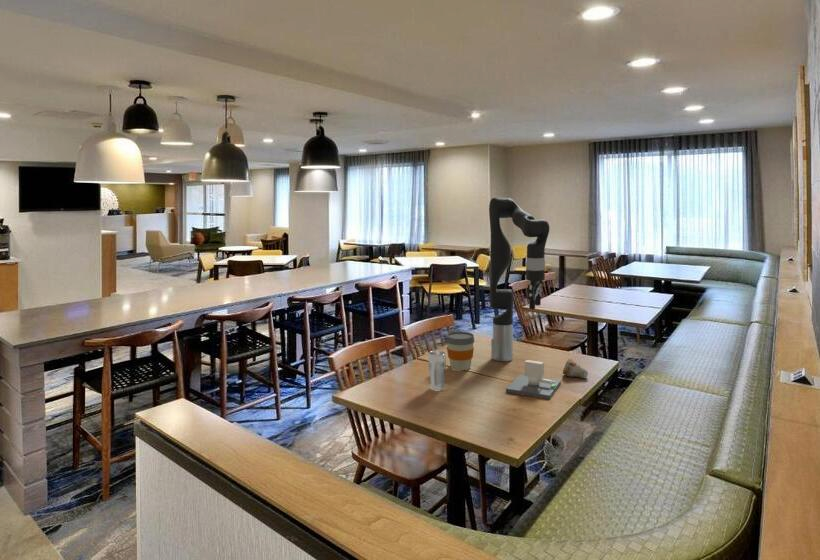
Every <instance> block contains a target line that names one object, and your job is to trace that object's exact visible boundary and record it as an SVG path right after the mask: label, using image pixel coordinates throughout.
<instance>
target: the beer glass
mask: <svg viewBox="0 0 820 560" xmlns="http://www.w3.org/2000/svg"><path fill="white" fill-rule="evenodd" d="M427 363H428V366H427V367H428V372H429V376H430V377H429V378H430V384H429V385H430V386H429V389H430V388H431V389H433V390H443V389H444V388H445V389H446V386H445V373H446V364H447V360H446V352H445V351H443V350H431V351H429V352H428V361H427ZM445 389H444V390H445ZM444 390H443V391H444Z"/></svg>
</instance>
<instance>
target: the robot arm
mask: <svg viewBox="0 0 820 560" xmlns="http://www.w3.org/2000/svg"><path fill="white" fill-rule="evenodd" d="M488 212H489V224H490V225H489V226H490V230H489V231H490V252H489V253H490V258H489V259H490V285H489V286H490V287H489V306H490V308H491V309H493V310H505V311H504V312H502V313H500V314H498V315H497V314H496V315H494V316H493V318H492V339H491V340H490V341H491V342H490V343H491V347H490V348H491V356H490V357H491V360H494V361H497V362H509V361H512V360H513V358H514V357H513V356H514V353H513V351H514V347H513V346H514V340H513V339H514V318H513V317H514V313H513V312H514V292H513V290H512V289H510V288H509V289H508V288H502V289H501V288H499V289H498V283H499V281H500V279H501V278H502V276H503V274H504V272H505V271H506V270H507V268H508V267H509V265H510V263H511V258H512V257H511V255H512V254H511V251H512V250H511V245H510V242H509V241H508V239H507V237H506V236H505V234H504V232H503V230H502V228H501V222H500V221H501V220H500V219H510V218H511V221H512V223H513V224H514V225H515V226H516V227H517V228H519V229H520V230H521V232H522V234H523V235H524V236H525V237H527V238H536V239H535V241H533V242H530V243H528V244H527V246H526V262H525V263H526V264H525V268H526V269H525V279H526V281H529V282H530V284H527V297H526V298H527V300H528V301H529V304H528V307H529V308H528V309H529V310H535V309H536V306H541V303H542V302H541V301H542V299H541V298H542V296H543V294H544V291H543V290H544V289H543V288H544V287H543V284H544V283H543V282H544V280H545V279H546V260H545V258H546V257H545V255H546V254H545V250H546V246H547V245H546V243H547V240H548V237H549V233H550V224H549V222H548V221H547V219H542V218H541V219H535V217H534V216H532V215H531V214H530V213H528V212H526V211H525V210H523V209H522V208H521V207H520V206H519V205H518V204H517V203H516V202H515V201H514V199H512V198H510V197H493V198H491V199H490V201H489V206H488Z"/></svg>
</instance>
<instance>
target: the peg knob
mask: <svg viewBox="0 0 820 560" xmlns="http://www.w3.org/2000/svg"><path fill="white" fill-rule="evenodd" d="M544 369H545V363H544V361H538V360H537V361H536V360H529V359H526V360H524V375H525V376H528V384H529V385H533V386H537V385H539V384H540V382H541V383H548V384H551V380H548V379H549V378H548V379H542V378H545V374H544V371H545V370H544Z"/></svg>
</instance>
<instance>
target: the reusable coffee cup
mask: <svg viewBox="0 0 820 560" xmlns="http://www.w3.org/2000/svg"><path fill="white" fill-rule="evenodd" d="M445 342H446V343H447V347H446V351H447V357H448V360H449V365H450V369H451V368H452V369H451V370H453V369H455V370H454V371H456V370H465V371H468V370H467V369H469V368H470V367H471V366H472V358H473V357H474V349H475V347H474V343H475V336H474V334H473V333H472V332H465V331H455V332H454V331H453V332H450V333H447V334H446V339H445ZM470 369H471V368H470ZM470 369H469V370H470Z"/></svg>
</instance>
